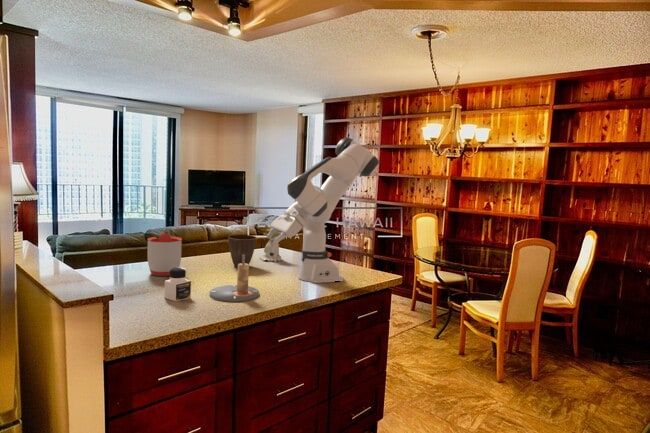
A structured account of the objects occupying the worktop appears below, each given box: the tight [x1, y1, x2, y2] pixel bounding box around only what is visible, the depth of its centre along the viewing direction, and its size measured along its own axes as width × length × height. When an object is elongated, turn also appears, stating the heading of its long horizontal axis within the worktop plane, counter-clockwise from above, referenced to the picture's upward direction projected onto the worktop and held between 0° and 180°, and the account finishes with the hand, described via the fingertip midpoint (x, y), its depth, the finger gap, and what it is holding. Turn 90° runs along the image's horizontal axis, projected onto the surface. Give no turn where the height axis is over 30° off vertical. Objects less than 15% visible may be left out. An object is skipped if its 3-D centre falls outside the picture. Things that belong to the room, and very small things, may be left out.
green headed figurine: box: [259, 227, 282, 263], centre depth 245 cm, size 12×13×18 cm
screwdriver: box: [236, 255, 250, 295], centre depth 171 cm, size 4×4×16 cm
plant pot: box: [227, 234, 258, 269], centre depth 224 cm, size 15×15×16 cm
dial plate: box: [209, 284, 260, 303], centre depth 174 cm, size 20×20×1 cm
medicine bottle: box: [163, 266, 192, 303], centre depth 165 cm, size 7×7×12 cm
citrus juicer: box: [146, 232, 183, 277], centre depth 201 cm, size 16×17×20 cm
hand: (271, 239), depth 176 cm, fingers open, 8 cm apart
